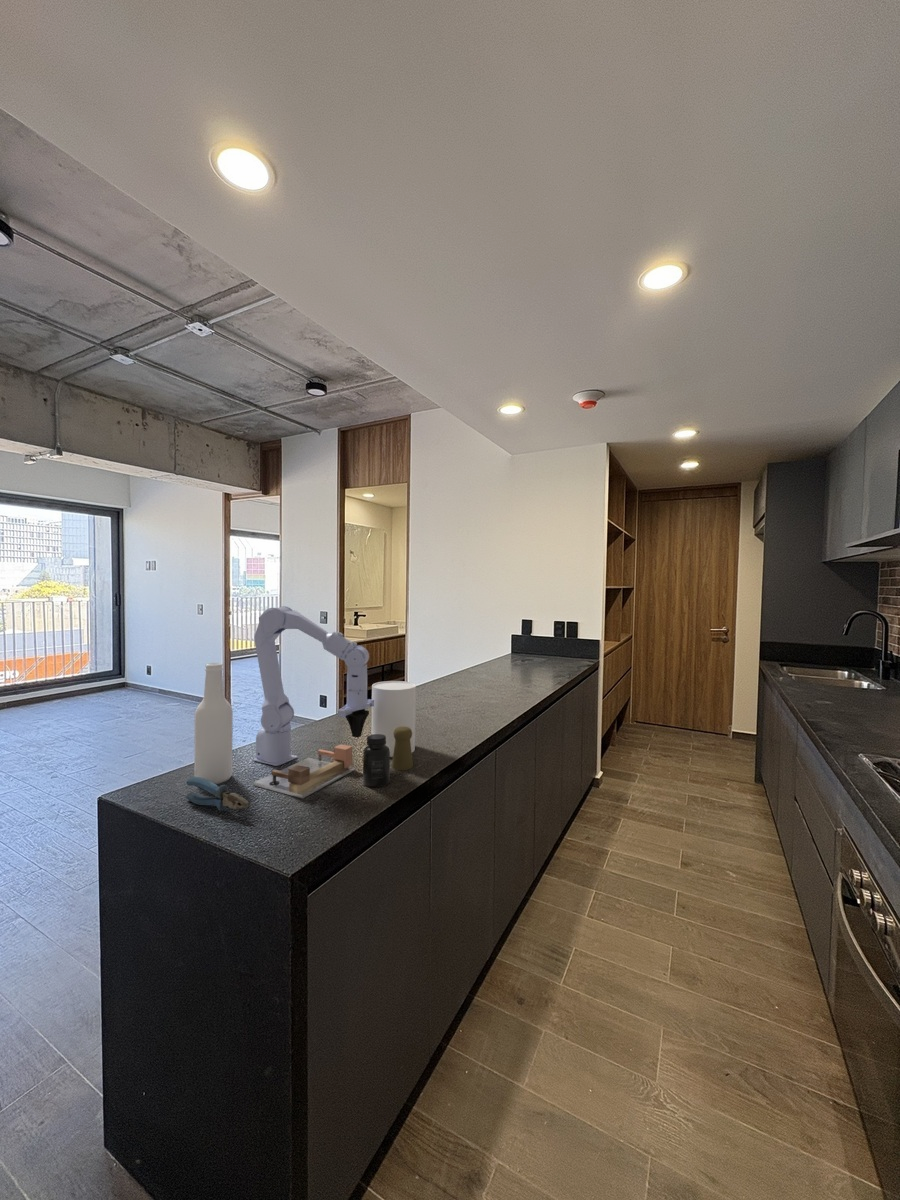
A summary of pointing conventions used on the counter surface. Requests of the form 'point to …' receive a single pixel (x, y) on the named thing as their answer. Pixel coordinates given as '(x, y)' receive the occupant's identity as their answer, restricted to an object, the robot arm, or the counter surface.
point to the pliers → (221, 794)
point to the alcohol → (213, 730)
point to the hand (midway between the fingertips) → (356, 736)
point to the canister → (393, 710)
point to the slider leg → (339, 754)
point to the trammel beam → (307, 775)
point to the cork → (402, 749)
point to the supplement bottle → (376, 761)
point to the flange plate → (314, 765)
